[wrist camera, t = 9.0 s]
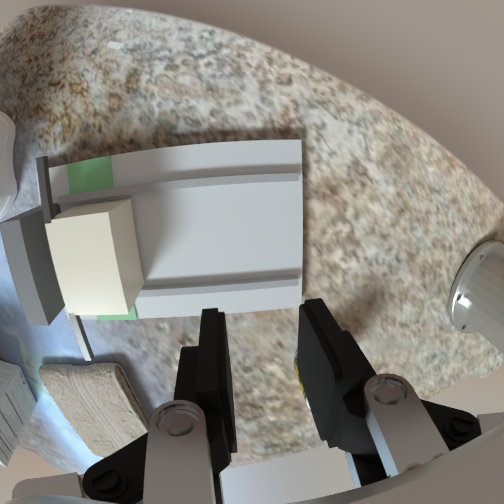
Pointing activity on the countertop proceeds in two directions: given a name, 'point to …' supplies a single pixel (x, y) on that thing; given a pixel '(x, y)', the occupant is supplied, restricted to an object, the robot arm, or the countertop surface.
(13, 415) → the supplement box
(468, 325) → the robot arm
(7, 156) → the jar
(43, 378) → the washcloth
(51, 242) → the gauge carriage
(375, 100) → the countertop surface
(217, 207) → the board
